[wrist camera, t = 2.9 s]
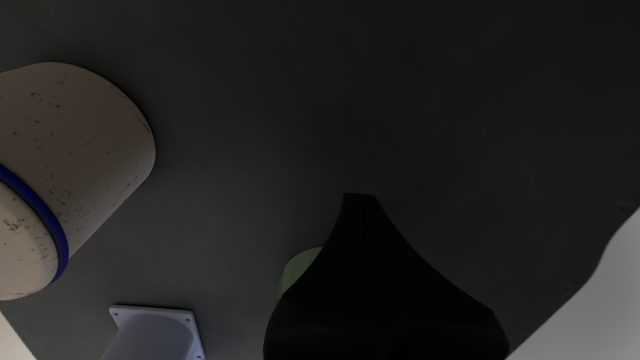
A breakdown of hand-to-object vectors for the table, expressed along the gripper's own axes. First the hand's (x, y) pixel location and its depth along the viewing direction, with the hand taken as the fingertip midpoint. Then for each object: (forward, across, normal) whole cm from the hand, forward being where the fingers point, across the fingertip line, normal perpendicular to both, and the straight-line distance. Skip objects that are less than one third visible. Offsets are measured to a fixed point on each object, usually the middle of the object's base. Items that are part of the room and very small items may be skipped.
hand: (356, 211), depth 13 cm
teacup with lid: (+7, +17, +2) cm, 18 cm away
